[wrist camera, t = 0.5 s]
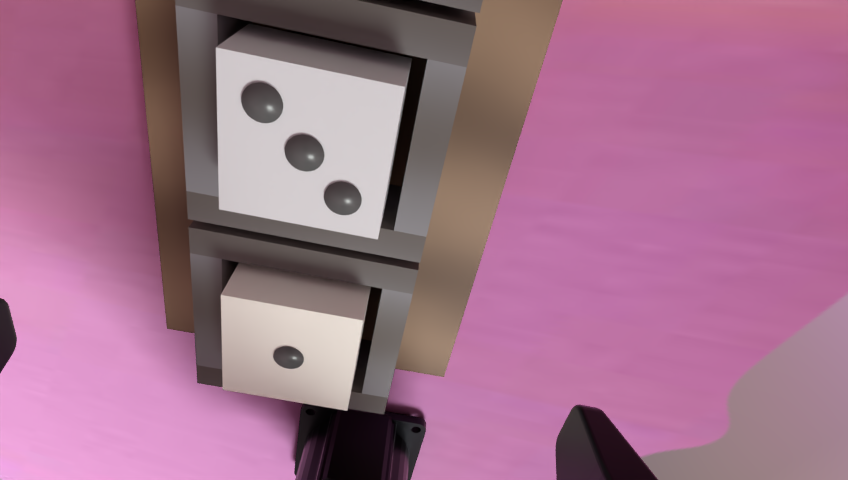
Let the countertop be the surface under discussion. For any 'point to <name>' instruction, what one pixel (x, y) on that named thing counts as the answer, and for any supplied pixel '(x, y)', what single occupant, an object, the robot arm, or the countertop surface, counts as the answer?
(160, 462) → the countertop surface
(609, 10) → the countertop surface
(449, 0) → the panel
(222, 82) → the tile three
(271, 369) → the tile one
